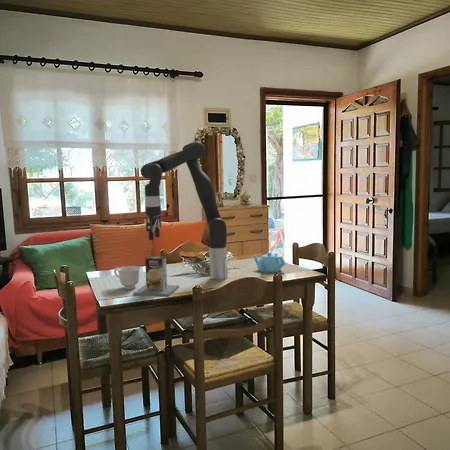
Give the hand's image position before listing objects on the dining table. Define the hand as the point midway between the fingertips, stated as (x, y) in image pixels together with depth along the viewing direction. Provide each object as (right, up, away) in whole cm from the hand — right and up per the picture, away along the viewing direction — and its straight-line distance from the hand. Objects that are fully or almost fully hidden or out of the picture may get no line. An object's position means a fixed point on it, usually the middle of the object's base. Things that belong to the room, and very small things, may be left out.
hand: (154, 238), depth 209 cm
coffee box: (+1, -25, +3) cm, 26 cm away
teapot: (+60, -20, +42) cm, 77 cm away
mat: (+1, -26, +3) cm, 26 cm away
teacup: (-16, -26, +12) cm, 32 cm away
